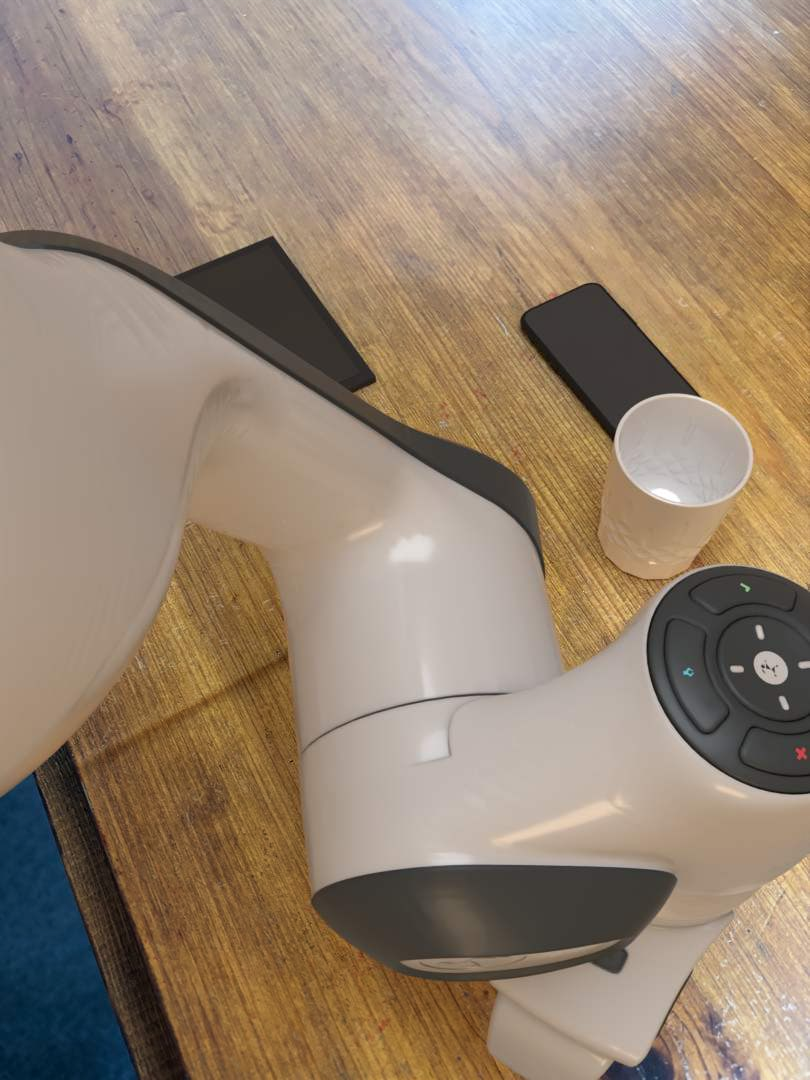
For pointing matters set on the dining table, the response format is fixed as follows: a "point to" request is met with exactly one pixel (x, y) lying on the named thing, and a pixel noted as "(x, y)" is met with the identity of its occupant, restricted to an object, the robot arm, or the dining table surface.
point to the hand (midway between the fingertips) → (596, 893)
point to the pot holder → (281, 308)
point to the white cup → (670, 483)
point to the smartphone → (601, 352)
